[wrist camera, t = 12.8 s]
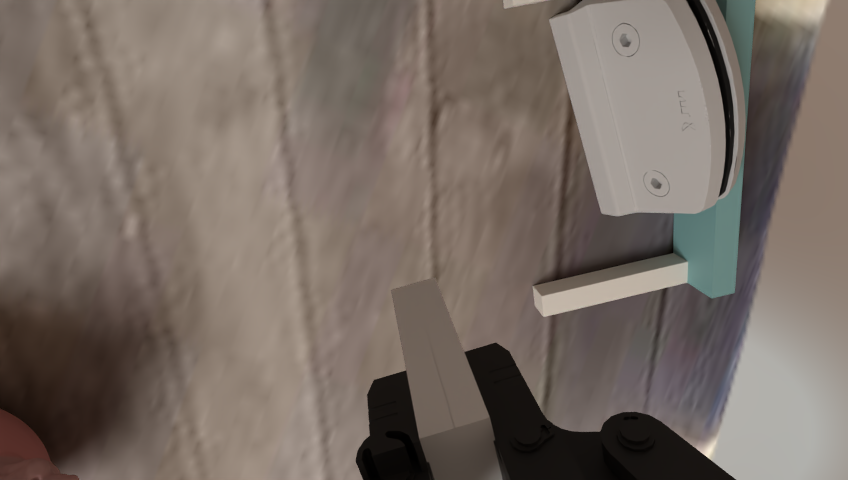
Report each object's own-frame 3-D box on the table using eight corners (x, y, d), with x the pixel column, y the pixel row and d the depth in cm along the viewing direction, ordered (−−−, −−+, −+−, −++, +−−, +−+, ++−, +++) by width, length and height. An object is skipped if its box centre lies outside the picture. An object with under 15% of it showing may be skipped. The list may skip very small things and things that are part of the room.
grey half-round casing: (547, 13, 34) (674, -28, 26) (594, -9, 36) (729, -55, 27) (602, 217, 41) (719, 240, 32) (640, 191, 42) (762, 206, 33)
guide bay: (500, -23, 33) (526, -37, 28) (704, -61, 34) (761, -79, 30) (534, 305, 43) (558, 335, 38) (693, 268, 44) (734, 292, 39)
